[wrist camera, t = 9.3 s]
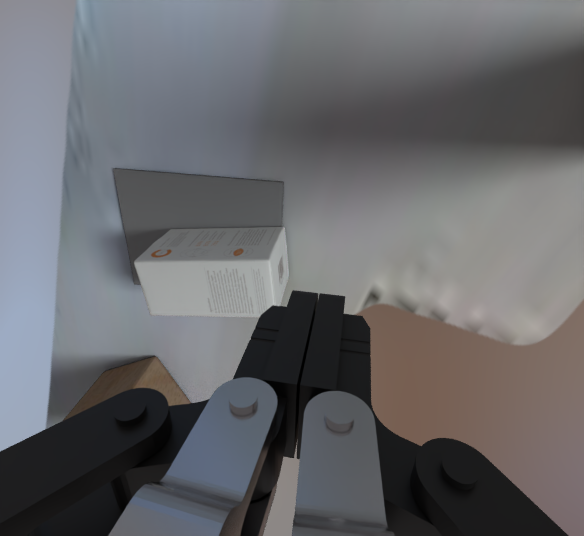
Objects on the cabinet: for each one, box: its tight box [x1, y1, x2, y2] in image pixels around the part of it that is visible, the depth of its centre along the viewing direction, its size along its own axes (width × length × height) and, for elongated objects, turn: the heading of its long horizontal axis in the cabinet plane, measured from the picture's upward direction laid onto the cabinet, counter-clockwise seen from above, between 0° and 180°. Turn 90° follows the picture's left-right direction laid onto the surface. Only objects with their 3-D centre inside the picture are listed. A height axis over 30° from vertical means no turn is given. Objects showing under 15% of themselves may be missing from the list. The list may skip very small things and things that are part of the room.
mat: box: [113, 168, 284, 285], centre depth 41 cm, size 18×14×1 cm
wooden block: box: [63, 357, 191, 421], centre depth 46 cm, size 10×10×20 cm
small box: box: [134, 227, 289, 317], centre depth 38 cm, size 8×6×13 cm
